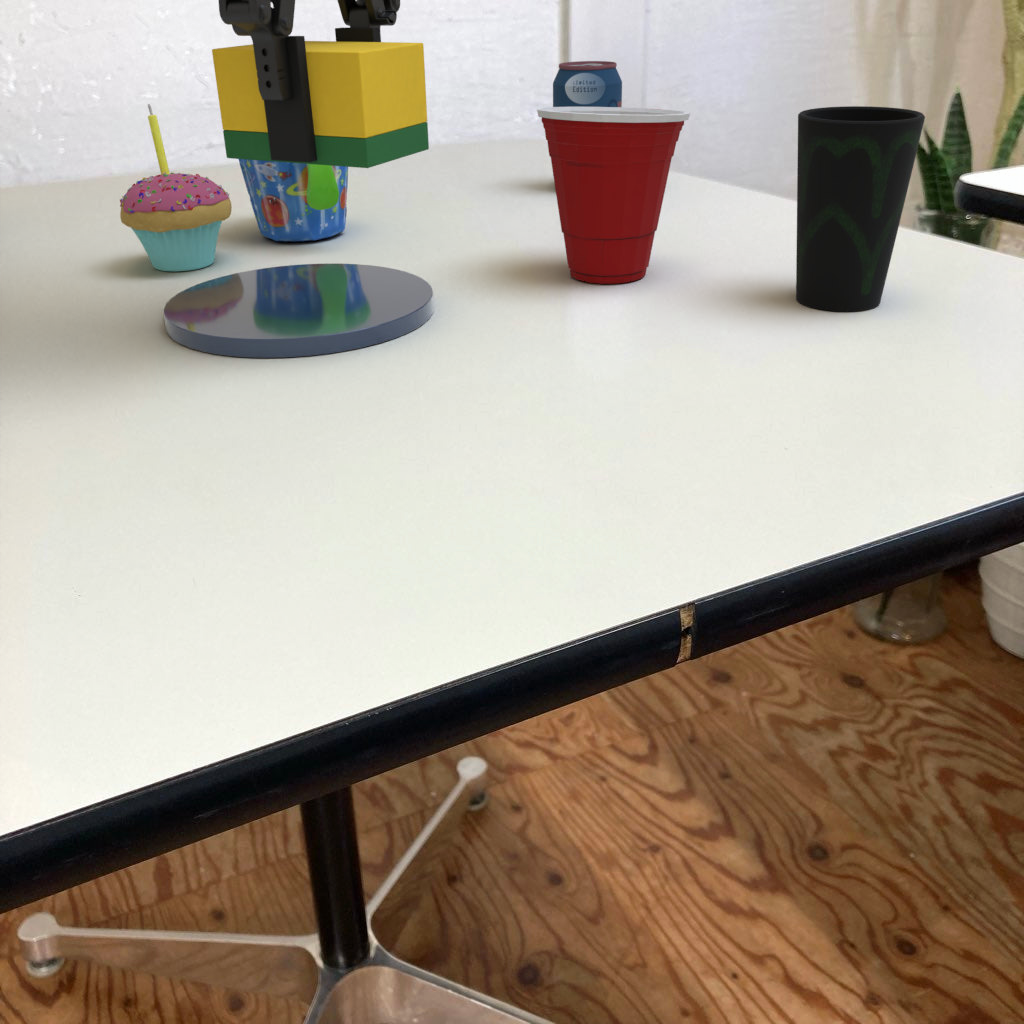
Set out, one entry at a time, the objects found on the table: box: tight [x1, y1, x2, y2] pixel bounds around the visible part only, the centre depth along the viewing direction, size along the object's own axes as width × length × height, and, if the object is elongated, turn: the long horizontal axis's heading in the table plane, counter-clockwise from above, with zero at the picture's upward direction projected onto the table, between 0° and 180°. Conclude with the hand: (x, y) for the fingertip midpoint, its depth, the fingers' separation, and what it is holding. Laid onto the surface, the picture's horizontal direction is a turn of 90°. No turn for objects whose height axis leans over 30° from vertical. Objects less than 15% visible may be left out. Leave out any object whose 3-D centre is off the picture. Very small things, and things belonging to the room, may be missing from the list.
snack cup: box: [238, 159, 349, 242], centre depth 90 cm, size 16×10×10 cm
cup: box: [795, 105, 926, 313], centre depth 68 cm, size 8×8×12 cm
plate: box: [162, 263, 435, 359], centre depth 71 cm, size 18×18×1 cm
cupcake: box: [119, 103, 232, 272], centre depth 81 cm, size 9×8×12 cm
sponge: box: [211, 40, 430, 169], centre depth 62 cm, size 10×7×6 cm
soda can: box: [552, 60, 623, 107], centre depth 106 cm, size 7×7×12 cm
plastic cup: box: [536, 106, 691, 285], centre depth 76 cm, size 11×11×12 cm
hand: (332, 149), depth 63 cm, fingers closed on sponge, 7 cm apart
